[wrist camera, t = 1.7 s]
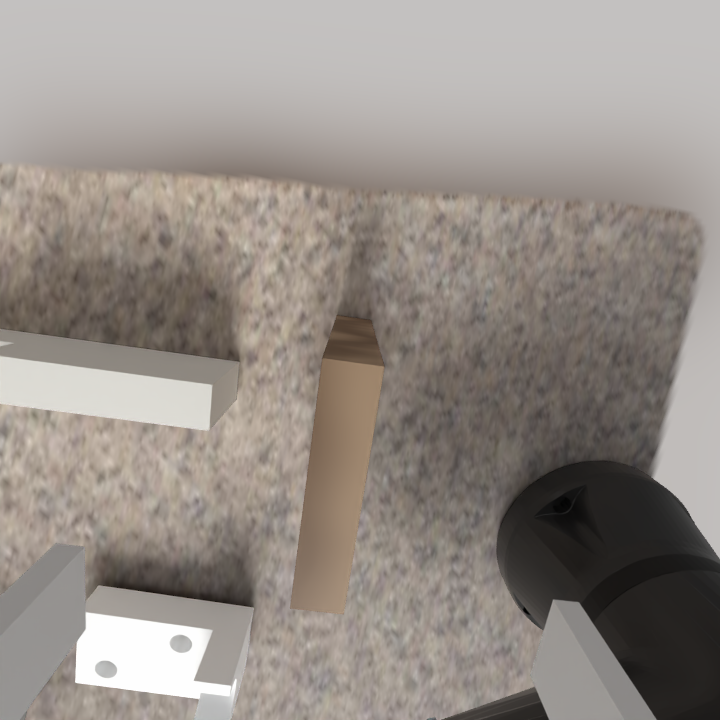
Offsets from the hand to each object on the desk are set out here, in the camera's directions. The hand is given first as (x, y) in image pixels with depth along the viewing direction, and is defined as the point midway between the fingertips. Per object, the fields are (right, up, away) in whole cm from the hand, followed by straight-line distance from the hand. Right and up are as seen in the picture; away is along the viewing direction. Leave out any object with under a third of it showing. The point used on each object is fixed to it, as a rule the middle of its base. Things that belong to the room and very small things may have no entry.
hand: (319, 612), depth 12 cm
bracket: (-15, -16, +25) cm, 33 cm away
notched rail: (-20, +7, +19) cm, 28 cm away
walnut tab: (0, +4, +20) cm, 20 cm away
